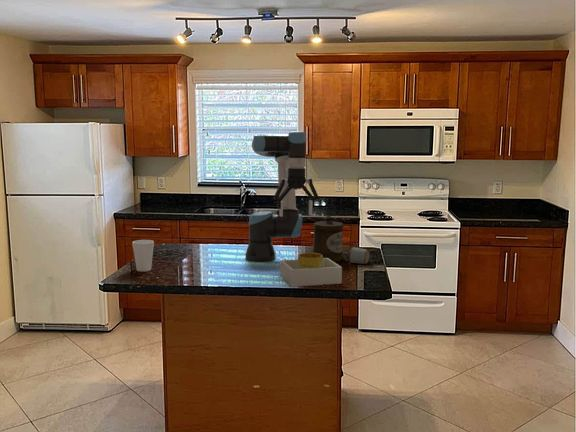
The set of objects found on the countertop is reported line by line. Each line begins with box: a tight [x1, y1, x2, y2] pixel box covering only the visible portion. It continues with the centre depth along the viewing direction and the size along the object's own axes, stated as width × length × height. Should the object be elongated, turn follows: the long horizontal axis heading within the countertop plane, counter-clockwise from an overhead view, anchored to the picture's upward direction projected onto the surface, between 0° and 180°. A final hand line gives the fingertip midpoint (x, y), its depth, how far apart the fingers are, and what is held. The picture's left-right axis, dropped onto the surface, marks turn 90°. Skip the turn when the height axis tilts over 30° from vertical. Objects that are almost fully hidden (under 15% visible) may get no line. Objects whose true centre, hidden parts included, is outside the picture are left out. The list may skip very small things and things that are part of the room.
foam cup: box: [132, 239, 155, 272], centre depth 246 cm, size 10×9×13 cm
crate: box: [279, 258, 343, 287], centre depth 233 cm, size 18×22×7 cm
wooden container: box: [312, 215, 344, 263], centre depth 273 cm, size 15×15×22 cm
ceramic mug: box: [349, 246, 370, 265], centre depth 266 cm, size 11×8×8 cm
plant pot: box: [297, 252, 323, 269], centre depth 233 cm, size 10×10×10 cm
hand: (295, 215), depth 239 cm, fingers open, 13 cm apart
